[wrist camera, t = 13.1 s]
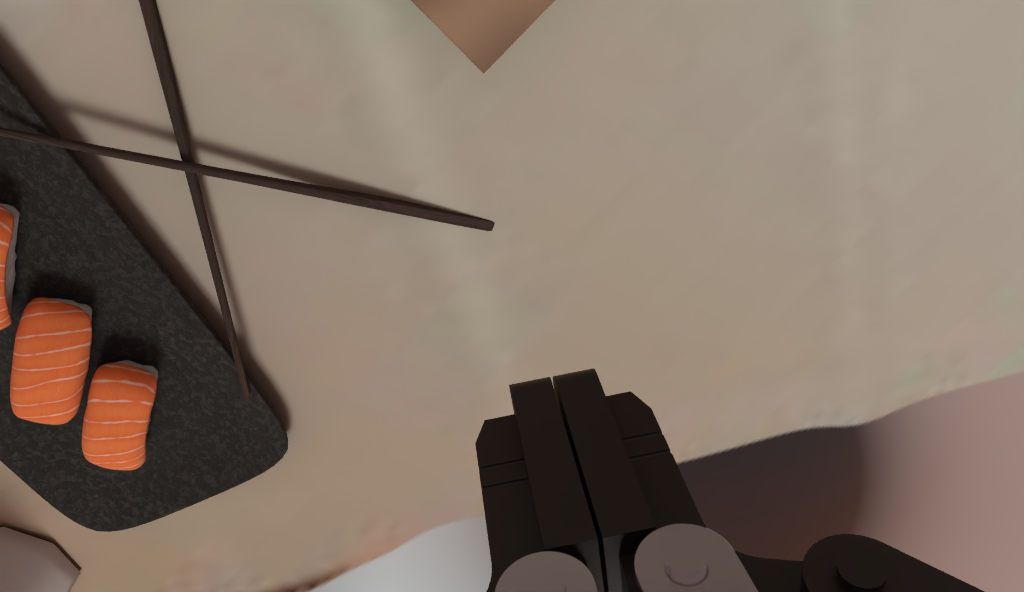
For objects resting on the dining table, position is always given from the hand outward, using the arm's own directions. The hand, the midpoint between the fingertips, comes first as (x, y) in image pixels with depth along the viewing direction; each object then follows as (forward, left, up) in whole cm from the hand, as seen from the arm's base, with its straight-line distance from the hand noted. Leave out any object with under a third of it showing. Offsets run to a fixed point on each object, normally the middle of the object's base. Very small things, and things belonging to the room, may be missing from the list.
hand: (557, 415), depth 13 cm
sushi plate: (-5, -16, -26) cm, 31 cm away
